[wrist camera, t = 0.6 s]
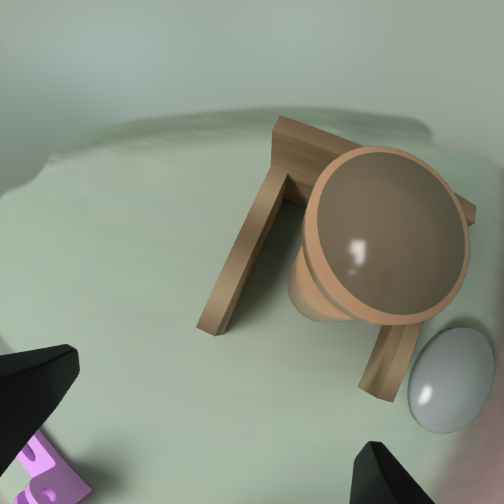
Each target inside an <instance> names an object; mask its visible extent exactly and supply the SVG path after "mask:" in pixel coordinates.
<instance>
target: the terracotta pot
mask: <svg viewBox="0 0 504 504" xmlns="http://www.w3.org/2000/svg"><path fill="white" fill-rule="evenodd" d="M301 235H302V245H301V247H300V249H299V251H298V253H297V256H296V258H295V260H294V262H293V264H292V266H291V269H290V271H289V275H288V281H287V287H288V293H289V297H290V299H291V301H292V303H293V305H294V306H295V308H296V309H297V310H298V311H299V312H300V313H301V314H302V315H304V316H305V317H307V318H309V319H311V320H313V321H317V322H336V321H345V320H353V319H355V320H358V321H361V322H363V323H367V324H372V325H381V326H390V325H404V324H413V323H417V322H421V321H424V320H427V319H429V318H431V317H433V316H435V315H436V314H438V313H439V312H441V311H442V310H443V309H444V308H445V307H446V306H447V305H449V304H450V302H451V301H452V300H453V299H454V297H455V296H456V295H457V293H458V291H459V290H460V288H461V286H462V284H463V281H464V279H465V276H466V273H467V269H468V264H469V257H470V239H469V231H468V226H467V222H466V219H465V215H464V212H463V210H462V208H461V205H460V203H459V201H458V199H457V198H456V196H455V194H454V192H453V191H452V189H451V188H450V187H449V185H448V184H447V183H446V181H445V180H444V179H443V178H442V177H441V176H440V175H439V174H438V173H437V172H436V171H435V170H434V169H433V168H432V167H430V166H429V165H428V164H427V163H425V162H424V161H422V160H420V159H419V158H417V157H415V156H413V155H411V154H409V153H407V152H404V151H401V150H399V149H394V148H390V147H382V146H368V147H362V148H358V149H354V150H351V151H349V152H347V153H345V154H343V155H341V156H339V157H338V158H337V159H335V160H334V161H332V162H331V163H330V164H329V165H328V166H327V167H326V168H325V170H324V171H323V172H322V174H321V175H320V176H319V178H318V180H317V182H316V184H315V185H314V188H313V191H312V194H311V197H310V199H309V202H308V205H307V208H306V211H305V214H304V218H303V223H302V234H301Z"/></svg>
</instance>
